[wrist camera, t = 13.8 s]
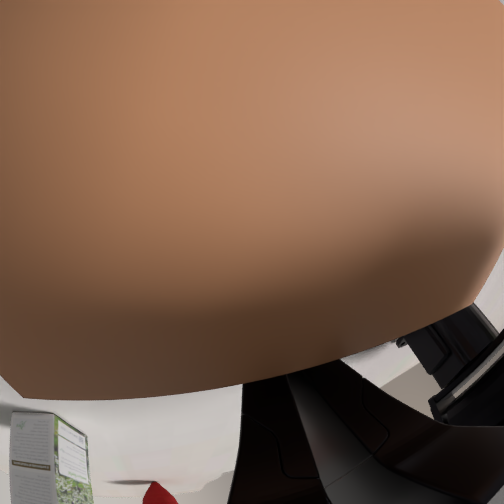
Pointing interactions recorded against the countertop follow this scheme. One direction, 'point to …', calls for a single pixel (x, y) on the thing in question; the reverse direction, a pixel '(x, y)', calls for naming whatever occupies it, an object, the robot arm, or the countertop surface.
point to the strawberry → (158, 495)
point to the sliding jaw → (239, 185)
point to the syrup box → (47, 461)
